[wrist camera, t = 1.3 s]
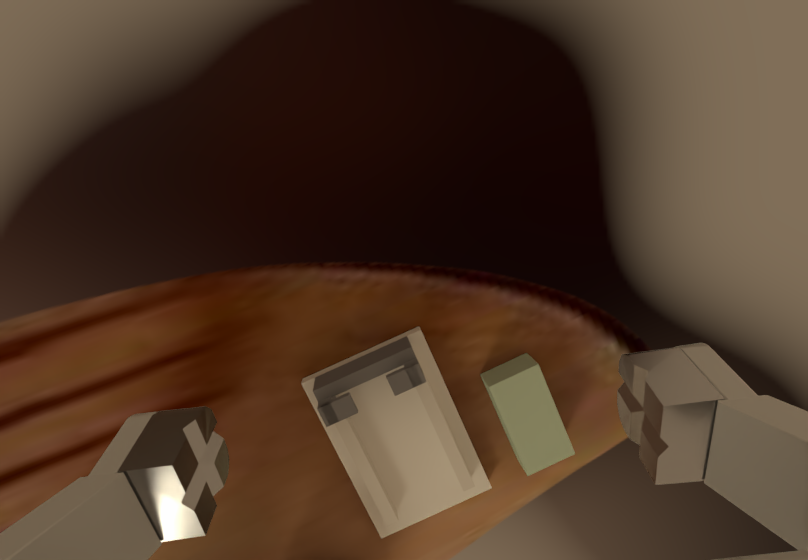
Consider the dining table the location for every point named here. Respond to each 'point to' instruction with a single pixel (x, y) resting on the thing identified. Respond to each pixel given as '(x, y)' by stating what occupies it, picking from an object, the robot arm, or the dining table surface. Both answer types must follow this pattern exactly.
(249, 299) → the dining table surface
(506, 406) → the green block
